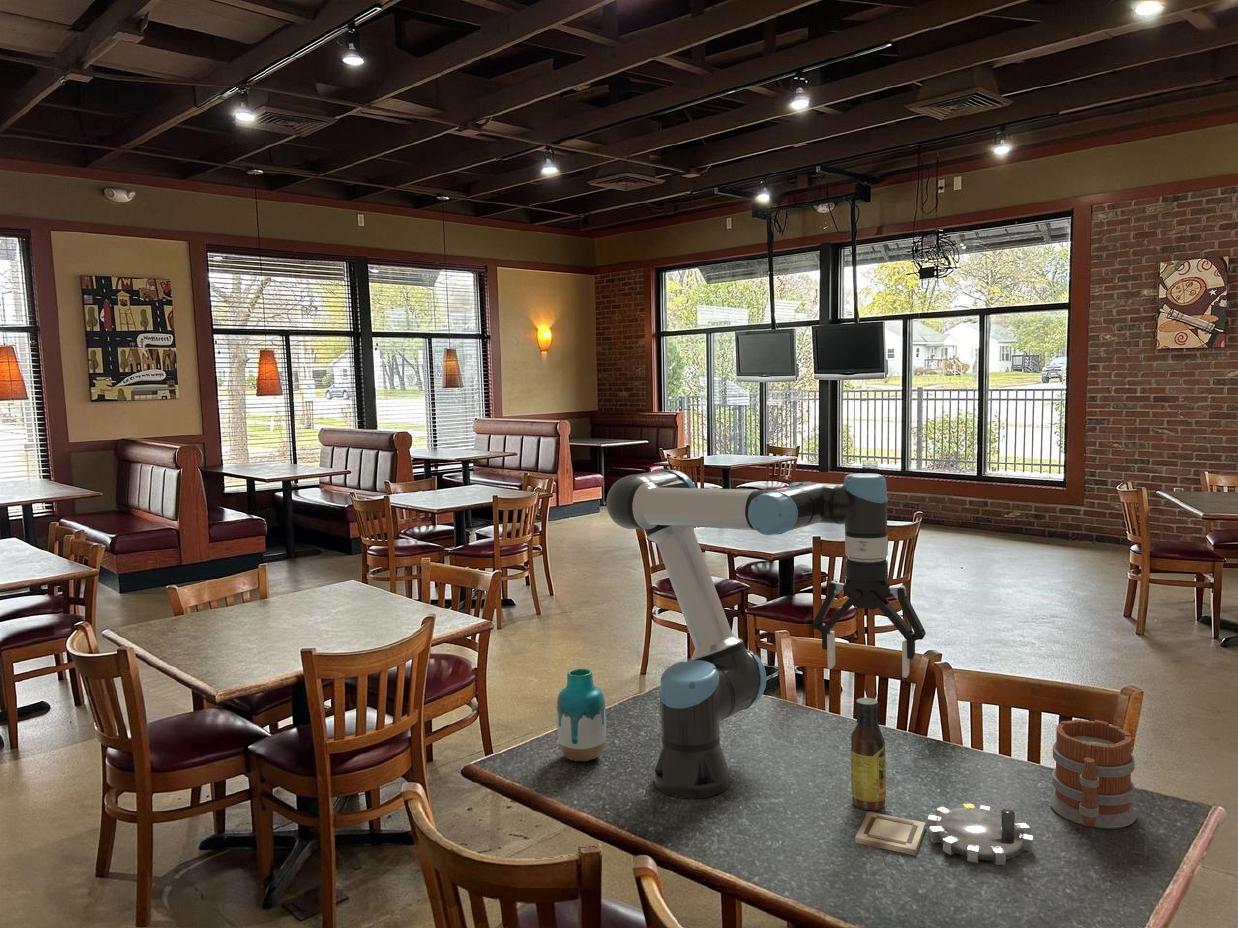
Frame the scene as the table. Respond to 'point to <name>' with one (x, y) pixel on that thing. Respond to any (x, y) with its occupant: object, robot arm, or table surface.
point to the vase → (581, 717)
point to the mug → (1093, 774)
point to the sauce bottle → (868, 758)
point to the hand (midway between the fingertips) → (867, 670)
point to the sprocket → (980, 833)
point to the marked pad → (891, 833)
